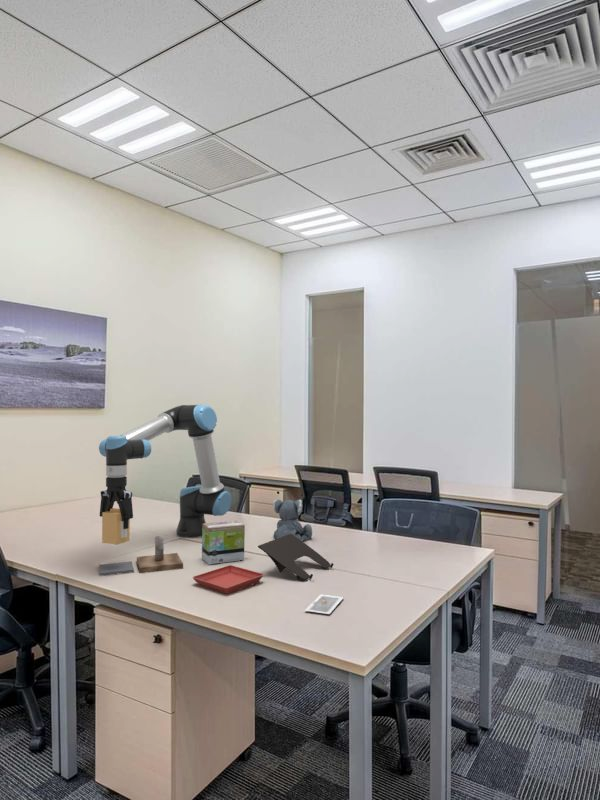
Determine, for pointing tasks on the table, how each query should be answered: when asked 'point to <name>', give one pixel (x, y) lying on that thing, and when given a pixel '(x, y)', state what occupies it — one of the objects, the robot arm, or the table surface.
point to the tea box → (223, 542)
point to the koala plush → (290, 520)
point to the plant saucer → (228, 578)
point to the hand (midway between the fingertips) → (116, 536)
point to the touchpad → (324, 604)
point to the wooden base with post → (159, 559)
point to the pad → (116, 568)
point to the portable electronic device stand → (292, 555)
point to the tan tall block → (113, 527)
